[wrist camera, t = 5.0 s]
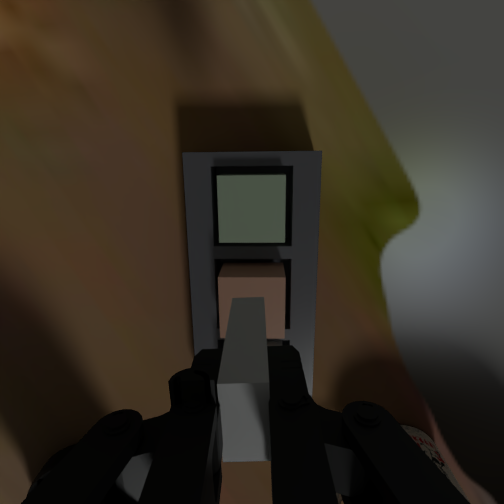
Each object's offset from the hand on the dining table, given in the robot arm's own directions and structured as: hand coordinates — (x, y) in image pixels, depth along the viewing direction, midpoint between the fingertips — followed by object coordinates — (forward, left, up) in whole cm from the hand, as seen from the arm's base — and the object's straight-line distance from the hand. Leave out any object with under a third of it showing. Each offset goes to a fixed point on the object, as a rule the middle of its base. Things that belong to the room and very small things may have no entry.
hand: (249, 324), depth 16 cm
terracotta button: (0, -3, -12) cm, 12 cm away
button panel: (0, -3, -15) cm, 15 cm away
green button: (0, +4, -13) cm, 14 cm away
